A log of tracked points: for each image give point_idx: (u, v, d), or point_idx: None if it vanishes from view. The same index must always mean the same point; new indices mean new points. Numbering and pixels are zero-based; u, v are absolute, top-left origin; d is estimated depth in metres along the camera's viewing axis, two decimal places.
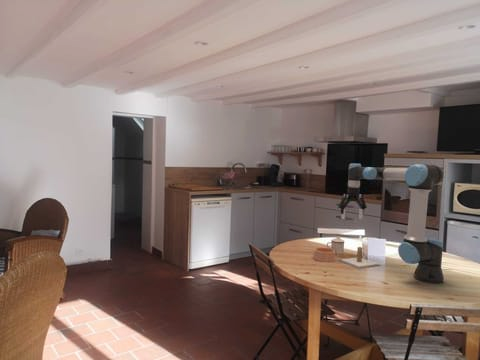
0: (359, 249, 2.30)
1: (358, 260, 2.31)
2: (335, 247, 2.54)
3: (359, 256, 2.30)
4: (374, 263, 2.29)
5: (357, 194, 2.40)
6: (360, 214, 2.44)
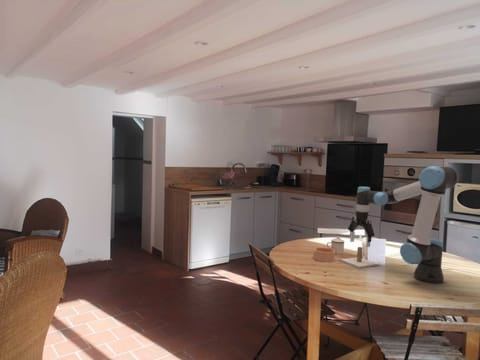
0: (359, 249, 2.30)
1: (358, 260, 2.31)
2: (335, 247, 2.54)
3: (359, 256, 2.30)
4: (374, 263, 2.29)
5: (363, 219, 2.28)
6: None
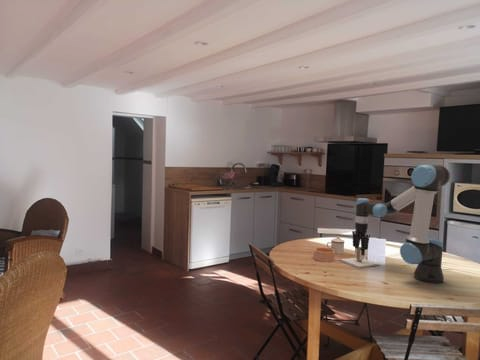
0: (359, 249, 2.30)
1: (358, 260, 2.31)
2: (335, 247, 2.54)
3: (359, 256, 2.30)
4: (374, 263, 2.29)
5: (363, 231, 2.28)
6: None
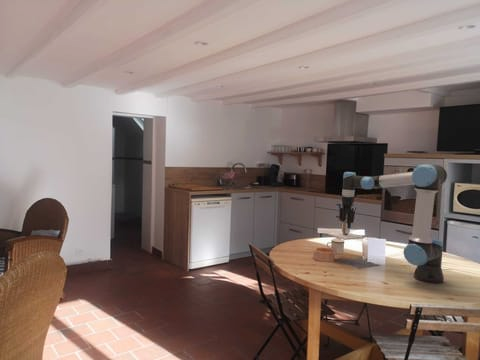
0: (345, 222, 2.32)
1: (344, 233, 2.33)
2: (335, 247, 2.54)
3: (345, 229, 2.33)
4: (360, 236, 2.31)
5: (349, 204, 2.30)
6: None
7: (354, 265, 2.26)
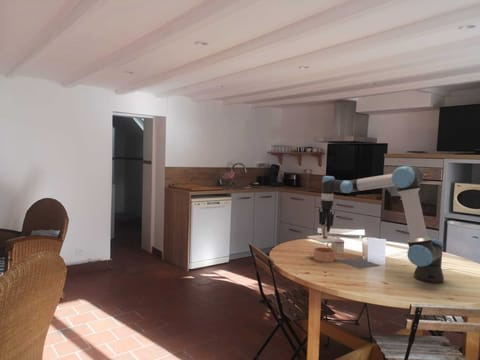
0: (325, 226, 2.36)
1: (324, 236, 2.36)
2: (335, 247, 2.54)
3: None
4: (339, 239, 2.34)
5: (328, 207, 2.33)
6: None
7: (354, 265, 2.26)
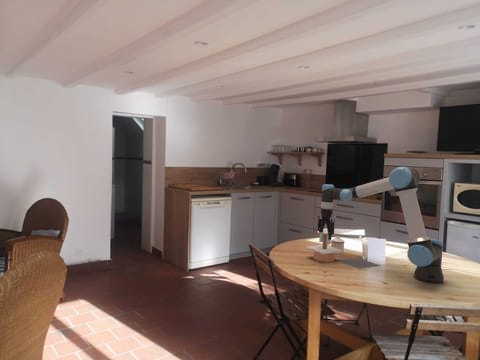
0: (324, 236, 2.36)
1: (323, 247, 2.37)
2: (335, 247, 2.54)
3: (324, 243, 2.36)
4: (339, 250, 2.35)
5: (327, 216, 2.34)
6: None
7: (354, 265, 2.26)
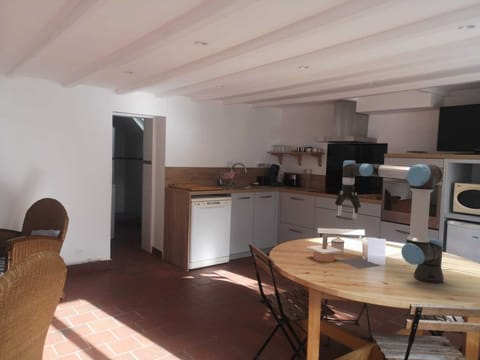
0: (324, 236, 2.36)
1: (323, 247, 2.37)
2: (335, 247, 2.54)
3: (324, 243, 2.36)
4: (339, 250, 2.35)
5: (349, 192, 2.34)
6: None
7: (354, 265, 2.26)
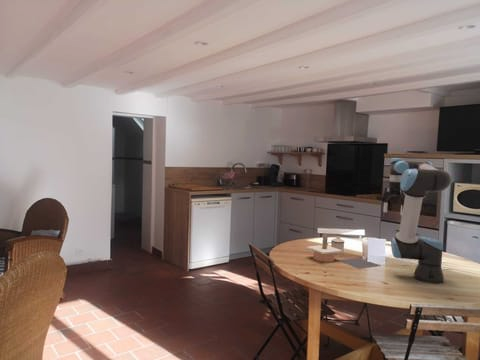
0: (324, 236, 2.36)
1: (323, 247, 2.37)
2: (335, 247, 2.54)
3: (324, 243, 2.36)
4: (339, 250, 2.35)
5: (397, 189, 2.37)
6: None
7: (354, 265, 2.26)
